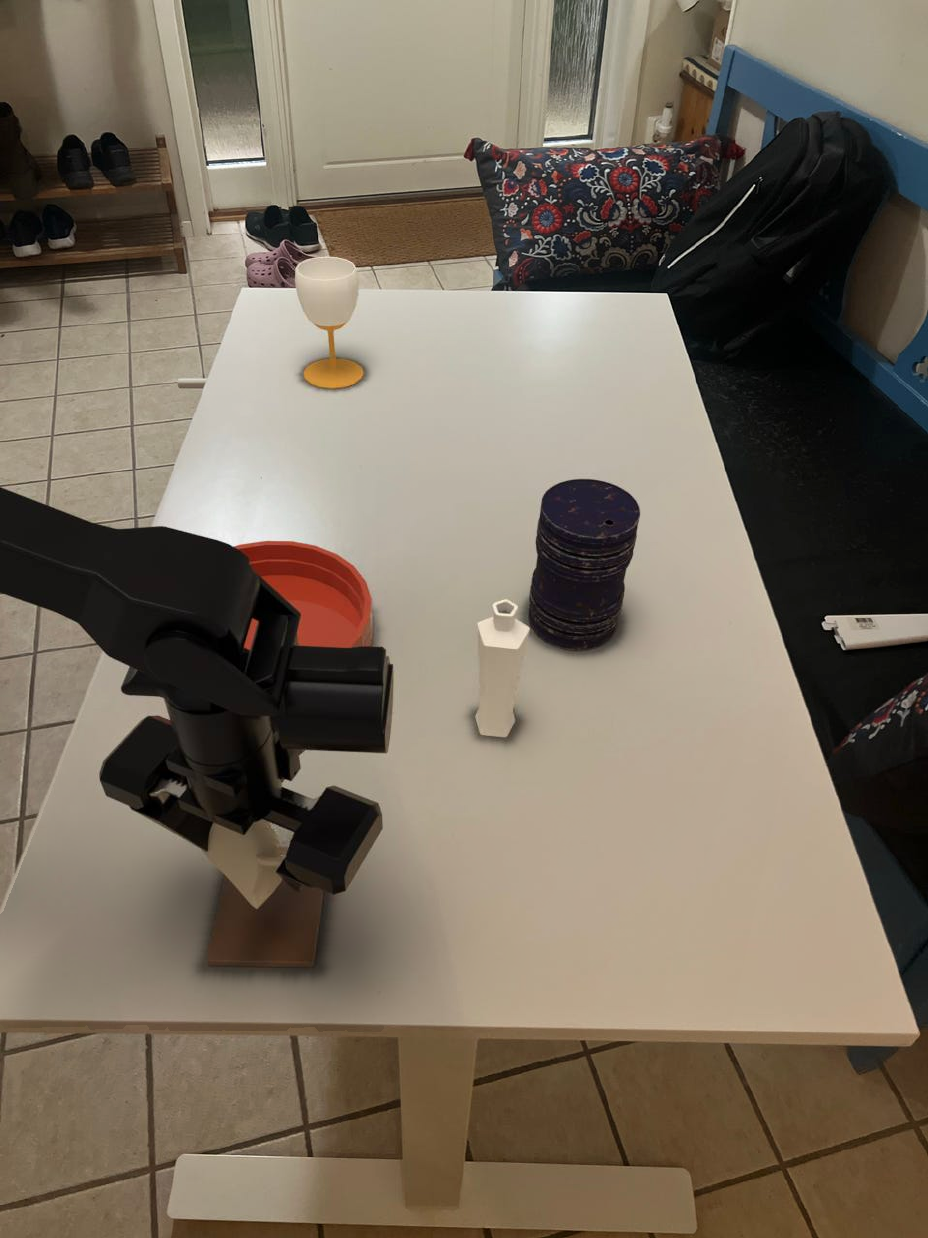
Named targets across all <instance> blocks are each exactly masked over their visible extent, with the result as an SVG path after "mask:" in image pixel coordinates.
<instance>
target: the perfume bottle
mask: <svg viewBox="0 0 928 1238" xmlns="http://www.w3.org/2000/svg"><path fill="white" fill-rule="evenodd" d="M492 608H493V615H492V616H491V617H488V618H485V619H483V620H479V621H478V622H477V657H478V688H479V689H478V691H479V692H478V693H479V707H478V710H477V712H476V714H475V721H476V724H477V728H478V733H479V734H480V735H481V736H487V737H497V738H507V737H508V735H509V733H510V732H511V730H512V728H513V726H514V724H515V722H516V717H515V714H514V711H513V709H514V705H515V701H516V696H517V691H518V687H519V681H520V678H521V672H522V667H523V662H524V657H525V654H526V649H527V643H528V640H529V639H528V638H529V634H530V628H531V627H530V626H528V625H527V624H525V623H523V622H522V621H521V620H518V619H517V618H516V613H517V610H518V609H519V606H518V605H517V604H516V603H514V602H512V601H510V600H509V599H507V598H505V599H502V600H499V601H495V602H493V603H492Z"/></svg>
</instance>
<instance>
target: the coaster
mask: <svg viewBox="0 0 928 1238" xmlns="http://www.w3.org/2000/svg"><path fill="white" fill-rule="evenodd" d="M324 892H325V891H323V890H321V889H318V888H308V887H306V886H305V887H304V888H303V890H302V892H301V893H299V892H297V891H295V890H294V889H293V888H291V887H290V886H289V885H288V884H287V883H286V882H285V881H284V880H283V879H282V881H281V883H280V884H279V885H278V886H277V888H276V889H275V890H274V892H273V893H272V894H271V895H270V896H269V897H268V898H267V899H266V900H265V901H264V903H263V904H262V905H261V906H260V907H259V908H258V909H256V908H255V907H253V906H252V905H251V904H250V903H249V902H248V900H247V899H246V898H245V897H244V896H243V895H242V893H241V892H240V891H239V890H238V889H237V888H236V886H235V885H234V884H233V883H232V882H231V881H230V880H229V879H228V878H227V877H226V876H225V875H224V878H223V883H222V887H221V891H220V896H219V900H218V905H217V910H216V914H215V918H214V923H213V928H212V933H211V936H210V941H209V946H208V950H207V955H206V960H205V962H206V965H207V966H208V967H251V968H253V967H255V968H256V967H258V968H260V967H261V968H263V967H265V968H314V967H315V960H316V954H317V953H316V952H317V945H318V937H319V931H320V921H321V916H322V915H321V914H322V906H323V897H324Z"/></svg>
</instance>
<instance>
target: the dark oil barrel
mask: <svg viewBox="0 0 928 1238" xmlns="http://www.w3.org/2000/svg"><path fill="white" fill-rule="evenodd" d="M539 510H540V511H539V518H538V520H537V527H536V536H535V551H536V554H537V555H536V563H535V568H534V570H533V572H532V577H531V582H530V583H531V584H530V587H529V596H528V600H529V607H528V612H527V620H528V623H529V627H530V628H531V630H532V632H533V633H534V634H535V635H536V636H537V637H538V638H540V640H542V641H544V642H545V643H547V644H549V645H551V646H552V647H555V648H558V649H563V650H567V651H589V650H593V649H596V648H599V647H601V646H603V645H605V644H607V643H608V642H609V641H610V640H611V639H612V638H613V637H614V635H615V633H616V631H617V627H618V621H619V618H620V615H621V612H622V610H623V609H622V608H623V603H624V597H625V590H626V585H625V578H626V573H627V569H628V567H629V566H630V563H631V561H632V560H633V556H634V549H635V547H636V541H637V537H638V527H639V522H640V517H641V508H640V504H639V503H638V501H637V499H635V497H634V496H633V495H632V494H631V493H630V492H629V491H627V490H625V488H622V487H620V486H619V485H616V484H613V483H611V482H608V481H604V480H600V479H593V478H573V479H567V480H562V481H560V482H558V483H556V484H553V485H552V486H551V487H549V488H548V489H547V490H546V491H545V492H544V494H543V495H542V498H541V501H540V509H539Z"/></svg>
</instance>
